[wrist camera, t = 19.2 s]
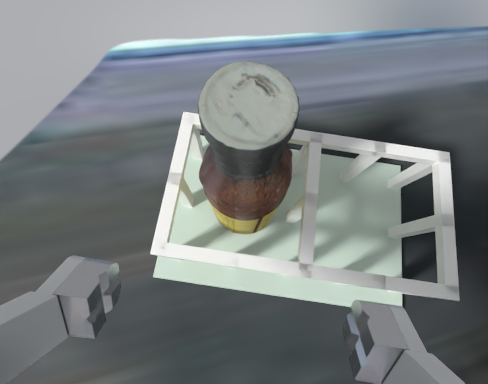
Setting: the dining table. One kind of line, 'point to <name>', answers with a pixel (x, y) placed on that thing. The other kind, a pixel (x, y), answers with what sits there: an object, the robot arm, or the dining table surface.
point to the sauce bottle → (247, 143)
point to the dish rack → (311, 225)
